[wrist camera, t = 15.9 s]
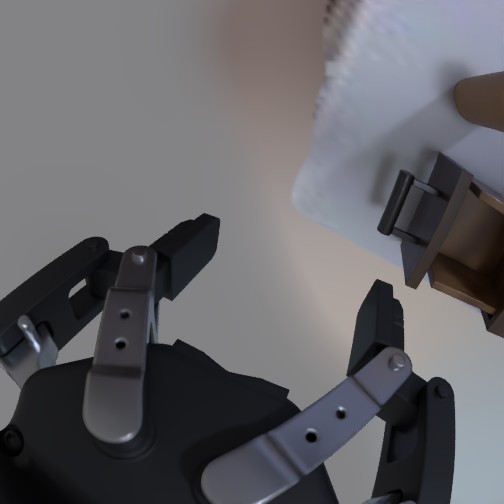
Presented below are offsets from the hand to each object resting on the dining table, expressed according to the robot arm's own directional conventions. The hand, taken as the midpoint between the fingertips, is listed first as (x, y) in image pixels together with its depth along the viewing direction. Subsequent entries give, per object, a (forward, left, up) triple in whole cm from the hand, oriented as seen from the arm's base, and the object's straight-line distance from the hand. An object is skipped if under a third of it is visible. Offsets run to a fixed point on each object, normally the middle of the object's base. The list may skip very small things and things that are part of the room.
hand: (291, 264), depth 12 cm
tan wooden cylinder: (-13, +12, -20) cm, 27 cm away
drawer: (0, +14, -19) cm, 24 cm away
